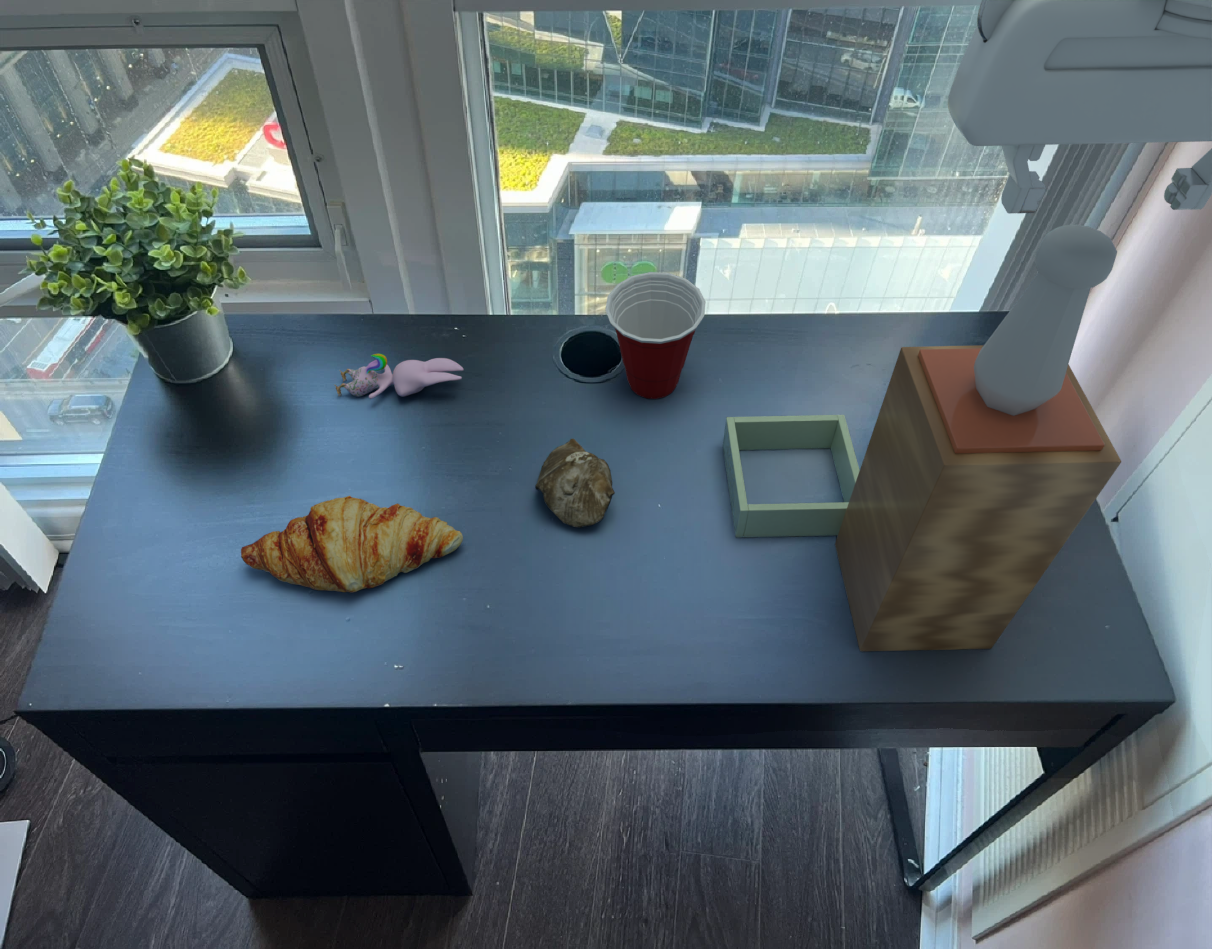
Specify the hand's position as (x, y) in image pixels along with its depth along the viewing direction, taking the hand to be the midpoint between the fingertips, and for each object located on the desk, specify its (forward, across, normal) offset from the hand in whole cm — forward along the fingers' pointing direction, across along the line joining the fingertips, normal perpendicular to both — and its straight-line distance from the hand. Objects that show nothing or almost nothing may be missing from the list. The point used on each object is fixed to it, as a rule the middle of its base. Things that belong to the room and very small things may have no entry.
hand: (1098, 206), depth 48 cm
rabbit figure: (+42, -52, +29) cm, 73 cm away
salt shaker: (+15, 0, 0) cm, 15 cm away
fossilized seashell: (+42, -32, +13) cm, 54 cm away
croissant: (+42, -53, +5) cm, 68 cm away
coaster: (+16, 0, 0) cm, 16 cm away
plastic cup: (+42, -23, +30) cm, 56 cm away
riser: (+42, 0, 0) cm, 42 cm away
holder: (+42, -10, +13) cm, 45 cm away
